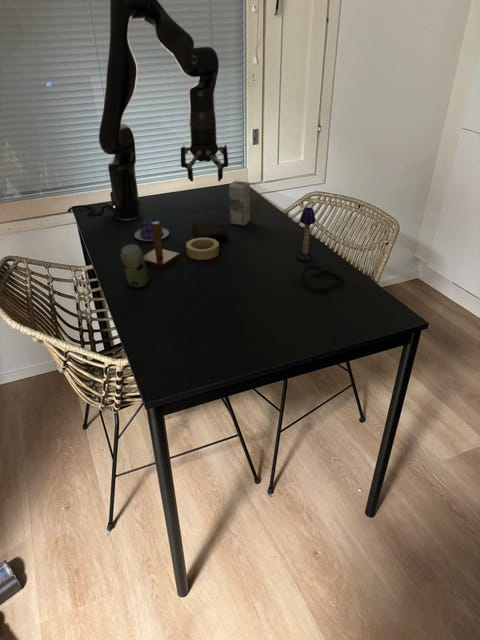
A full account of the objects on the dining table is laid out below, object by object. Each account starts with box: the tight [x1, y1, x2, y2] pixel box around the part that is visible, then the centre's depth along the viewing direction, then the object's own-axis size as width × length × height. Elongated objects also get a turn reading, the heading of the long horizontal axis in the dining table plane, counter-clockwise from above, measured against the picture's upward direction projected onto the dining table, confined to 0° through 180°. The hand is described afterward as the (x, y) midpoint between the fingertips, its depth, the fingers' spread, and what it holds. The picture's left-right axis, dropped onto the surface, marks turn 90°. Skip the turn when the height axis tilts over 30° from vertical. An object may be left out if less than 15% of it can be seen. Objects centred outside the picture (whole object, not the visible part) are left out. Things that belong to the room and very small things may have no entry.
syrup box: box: [228, 180, 251, 227], centre depth 178 cm, size 6×6×14 cm
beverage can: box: [119, 243, 150, 288], centre depth 140 cm, size 6×7×12 cm
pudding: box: [133, 218, 170, 242], centre depth 171 cm, size 12×12×5 cm
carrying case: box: [192, 219, 228, 243], centre depth 171 cm, size 11×3×15 cm
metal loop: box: [299, 264, 344, 293], centre depth 141 cm, size 13×5×10 cm
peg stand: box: [143, 220, 181, 270], centre depth 153 cm, size 9×9×12 cm
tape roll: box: [185, 237, 220, 261], centre depth 160 cm, size 10×10×3 cm
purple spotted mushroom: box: [297, 206, 316, 263], centre depth 151 cm, size 5×5×17 cm
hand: (205, 180), depth 153 cm, fingers open, 8 cm apart
